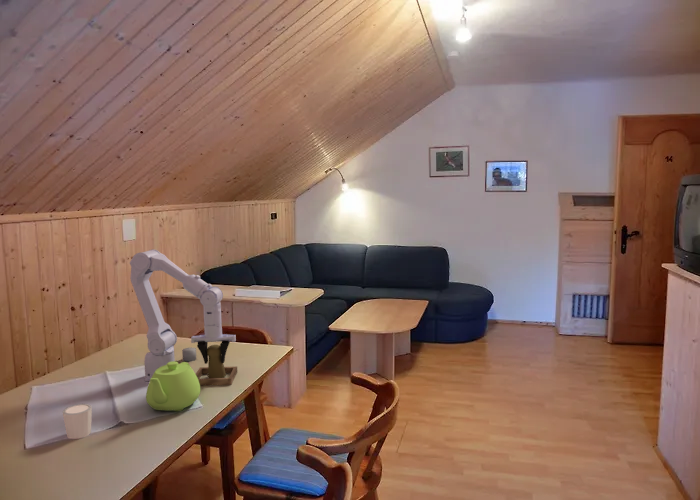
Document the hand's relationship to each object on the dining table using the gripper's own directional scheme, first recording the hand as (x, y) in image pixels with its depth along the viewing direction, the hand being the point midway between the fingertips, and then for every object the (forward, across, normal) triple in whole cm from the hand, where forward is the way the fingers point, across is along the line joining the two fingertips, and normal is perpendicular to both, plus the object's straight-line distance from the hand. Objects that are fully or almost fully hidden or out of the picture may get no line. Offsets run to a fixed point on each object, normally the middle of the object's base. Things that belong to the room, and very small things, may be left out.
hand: (214, 362), depth 176 cm
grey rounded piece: (+6, +14, -21) cm, 26 cm away
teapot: (+6, +8, +22) cm, 24 cm away
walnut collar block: (+6, 0, 0) cm, 6 cm away
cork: (+6, 0, -2) cm, 6 cm away
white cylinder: (+6, +28, +38) cm, 48 cm away
